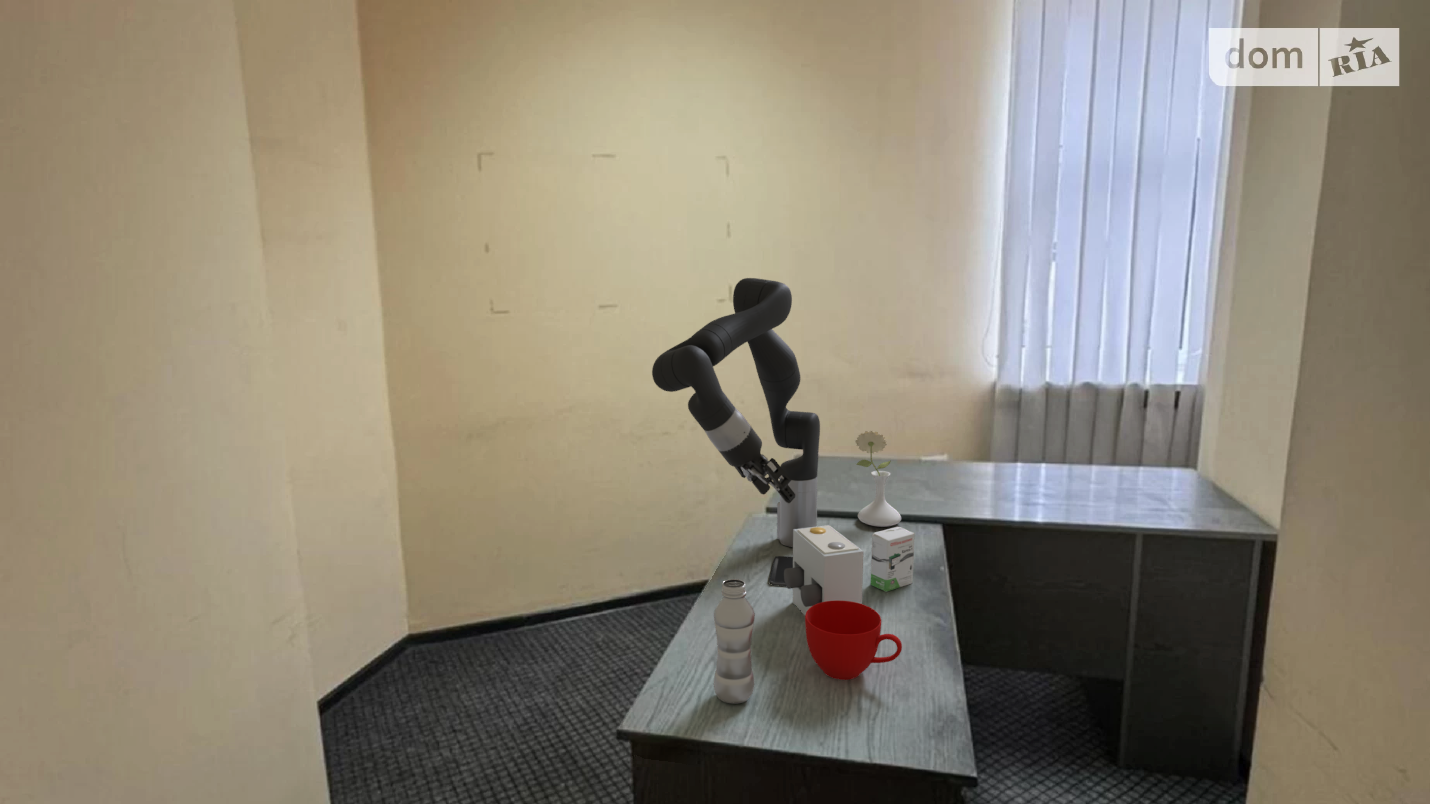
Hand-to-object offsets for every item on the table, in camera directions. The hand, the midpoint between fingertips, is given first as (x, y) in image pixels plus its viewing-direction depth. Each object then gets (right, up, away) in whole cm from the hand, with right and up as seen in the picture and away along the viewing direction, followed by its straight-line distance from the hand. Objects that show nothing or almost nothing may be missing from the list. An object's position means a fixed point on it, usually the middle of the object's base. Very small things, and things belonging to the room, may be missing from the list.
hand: (778, 495), depth 149 cm
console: (+11, -25, +6) cm, 28 cm away
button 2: (+7, -21, 0) cm, 22 cm away
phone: (+5, -21, +27) cm, 35 cm away
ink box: (+26, -22, +21) cm, 40 cm away
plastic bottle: (-9, -31, -22) cm, 39 cm away
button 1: (+4, -19, +8) cm, 21 cm away
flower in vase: (+31, -15, +59) cm, 68 cm away
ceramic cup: (+12, -29, -15) cm, 35 cm away
